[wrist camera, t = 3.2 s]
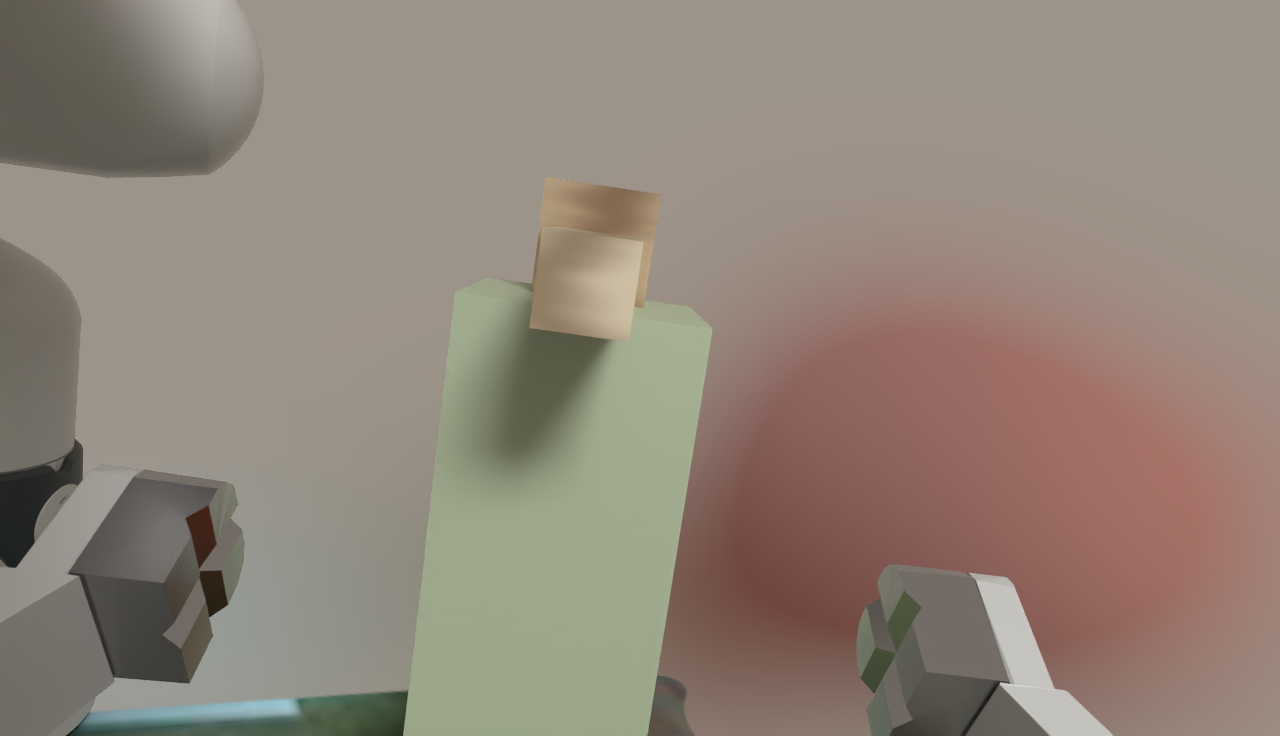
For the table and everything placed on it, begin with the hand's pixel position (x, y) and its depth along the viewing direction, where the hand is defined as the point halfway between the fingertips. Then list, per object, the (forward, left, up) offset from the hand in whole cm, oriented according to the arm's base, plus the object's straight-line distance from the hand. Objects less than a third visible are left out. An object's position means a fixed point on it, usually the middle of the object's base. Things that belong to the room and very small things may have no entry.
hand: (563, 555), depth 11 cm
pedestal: (0, +29, -25) cm, 38 cm away
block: (0, +25, +1) cm, 25 cm away
